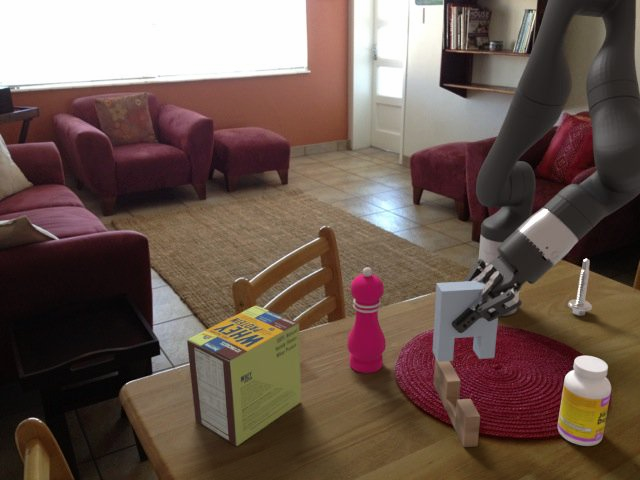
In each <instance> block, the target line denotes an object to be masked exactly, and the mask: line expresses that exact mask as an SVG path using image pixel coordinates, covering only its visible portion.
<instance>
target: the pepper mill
mask: <svg viewBox="0 0 640 480" xmlns="http://www.w3.org/2000/svg"><path fill="white" fill-rule="evenodd" d="M384 286H385V285H384V283H383V281H382V279H381V278H380V277H379V276H377V275H375V274H373V270H372V268H370V267H364V268H363V270H362V274H359V275H357V276H356V277H355V278H354V279H352V282H351V283H350V293H351V296H352V297H353V298H354V299H353V301H352V303H353V306H352V307H353V309H354V310H355V320H354V324H353V327H352V329H351V330H350V331H349V334H348V337H347V340H346V341H347V342H346V346H347V350H348V352H349V353H350V354H349V366H350V368H351V369H353V370H354V371H355V372H358V373H363V374H370V373H371V374H372V373H375V372H377V371H380V370H381V368H382V367H383V365H384V364H383V362H384V360H383V353H384V352H385V350H386V347H387V345H386V338H385V335H384V332H383V330H382V328H381V326H380V323H379V311H380V309H381V303H382V301H381V298H382V297H383V295H384V292H385V290H384V289H385V288H384Z"/></svg>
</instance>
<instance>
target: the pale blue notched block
mask: <svg viewBox="0 0 640 480" xmlns="http://www.w3.org/2000/svg"><path fill="white" fill-rule="evenodd" d="M463 281H464V280H463ZM463 281H451V282H450V281H449V282H436V283H435V297H434V298H435V302H434V316H433V317H434V320H433V337H432V354H433V356H434V358H436V359H437V361H438V362H443V361H450V362H453V361H454V350H455V339H460V338H462V339H463V338H473V342H472V343H473V344H472V350H473V352H474V353H475V355H476V356H477V358H478V359H479V360H484V359H494V358H495V354H496V346H497V345H496V344H497V343H496V342H497V334H498V333H497V332H498V322H499V317H498V318H496V319H494V320H492V321H490V322H488V321H487V320H486V319H484V318H483V319H481V318H479V319H478V320H477V321H476V322H475V323H474V324H472V325H471V326H470V327H469V328H468V329H467V330H466V331H464V332H463V333H459V332H458V331H457V330H456V329H454V328H453V326H452V322H453V321H454V320H455V319H456V318H457V317H458V316H459V315H461V314H462V313H463V312H464V311H465V310H466V309H467V308H470V306H471V305H472V304H473V302H474V301H475V300H476V299H477V298H478V297H479V292H480V291H482V290H483V287H484V286H485V284H484V283H483V282H477V281H464V282H463ZM488 297H489V298H490V299H491V300H492V299H493V298H492V297H491V296H490V295H489V294H488ZM485 303H487V302H485V301H484V302H483V303H482V304H481V305H483V304H485ZM481 305H480V306H481ZM493 311H495V309H492V310H491V311H490V312H493Z"/></svg>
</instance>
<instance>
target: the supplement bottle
mask: <svg viewBox="0 0 640 480" xmlns="http://www.w3.org/2000/svg"><path fill="white" fill-rule="evenodd" d="M608 368H609V365H608V364H607V363H606V362H605V360H603V359H600V357H599V358H598V357H595V356H592V355H580V356H577V357H575V359H574V362H573V369H572V370H570V371H568V372H567V374H566V375H565V377H564V381H563V388H562V393H561V401H560V406H559V407H560V408H559V414H558V421H557V430H558V433H559V435H560V436H561V437H562V438H564V439H565V440H566V441H567V442H569V443H572V444H575V445H578V446H582V447H583V446H585V447H592V446H596V445H598V444H599V443H600V442H601V441H602V440H603V437H604V431H605V426H606V420H607V416H608V412H609V404H610V399H611V395H612V384H611V383H610V380H609V378H607V375H608V370H609V369H608Z"/></svg>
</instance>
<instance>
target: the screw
mask: <svg viewBox="0 0 640 480" xmlns="http://www.w3.org/2000/svg"><path fill="white" fill-rule="evenodd" d="M590 263H591V262H590V259H588V258H585V259H583V261H582V266H581V267H582V268H581V269H580V272H579V273H580V274H579V279H578V286H577V288H578V289H577V292H576V293H577V294H576V298H575V299H573V298H572V299H571V300H569V301H567V305H568V307H569V308H571V309H572V314H573V315H576V316H578V317H581V316H585V315H586V312H587V311H591V310H592V308H593V306H592V304H591V303H590V302H589V301H587V300H586V296H587V291H588V289H587V288H588V283H589V276H590Z"/></svg>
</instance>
